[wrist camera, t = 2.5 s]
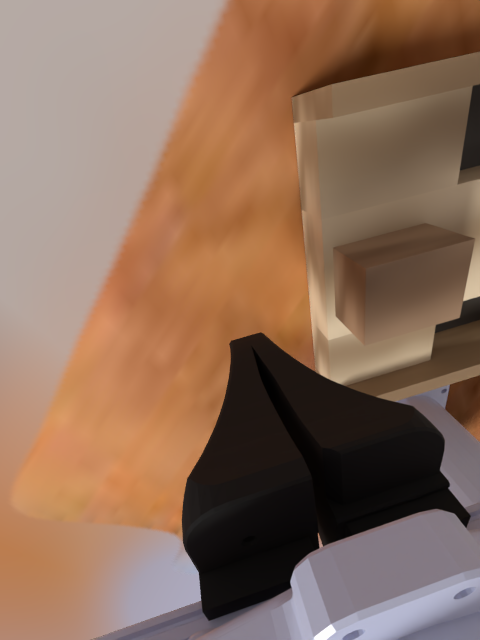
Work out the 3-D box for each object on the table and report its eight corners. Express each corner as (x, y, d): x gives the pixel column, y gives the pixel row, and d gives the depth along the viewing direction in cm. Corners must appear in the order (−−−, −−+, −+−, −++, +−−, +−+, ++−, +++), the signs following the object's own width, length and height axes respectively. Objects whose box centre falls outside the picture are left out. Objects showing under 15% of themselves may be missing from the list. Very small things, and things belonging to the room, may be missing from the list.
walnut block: (417, 292, 18) (459, 317, 16) (335, 316, 18) (364, 345, 15) (425, 222, 16) (475, 238, 14) (332, 247, 16) (365, 268, 13)
